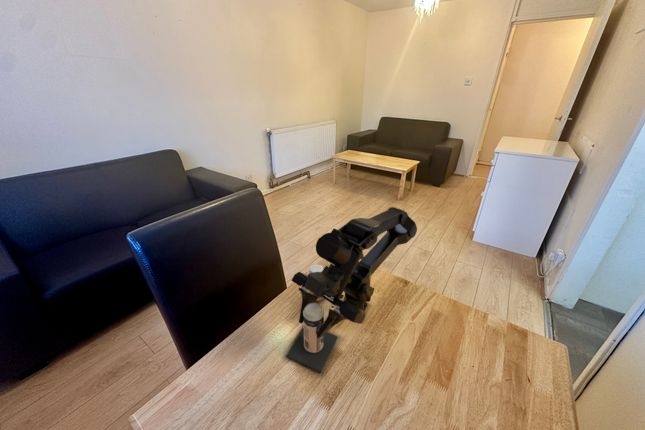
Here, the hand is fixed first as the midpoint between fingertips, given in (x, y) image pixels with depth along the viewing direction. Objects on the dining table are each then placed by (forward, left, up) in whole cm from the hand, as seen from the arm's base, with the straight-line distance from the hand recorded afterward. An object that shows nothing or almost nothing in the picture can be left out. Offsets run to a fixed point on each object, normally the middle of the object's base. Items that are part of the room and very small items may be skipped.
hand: (309, 330), depth 59 cm
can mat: (-1, 0, -7) cm, 7 cm away
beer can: (-1, +1, -7) cm, 7 cm away
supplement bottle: (-17, -7, -7) cm, 20 cm away
